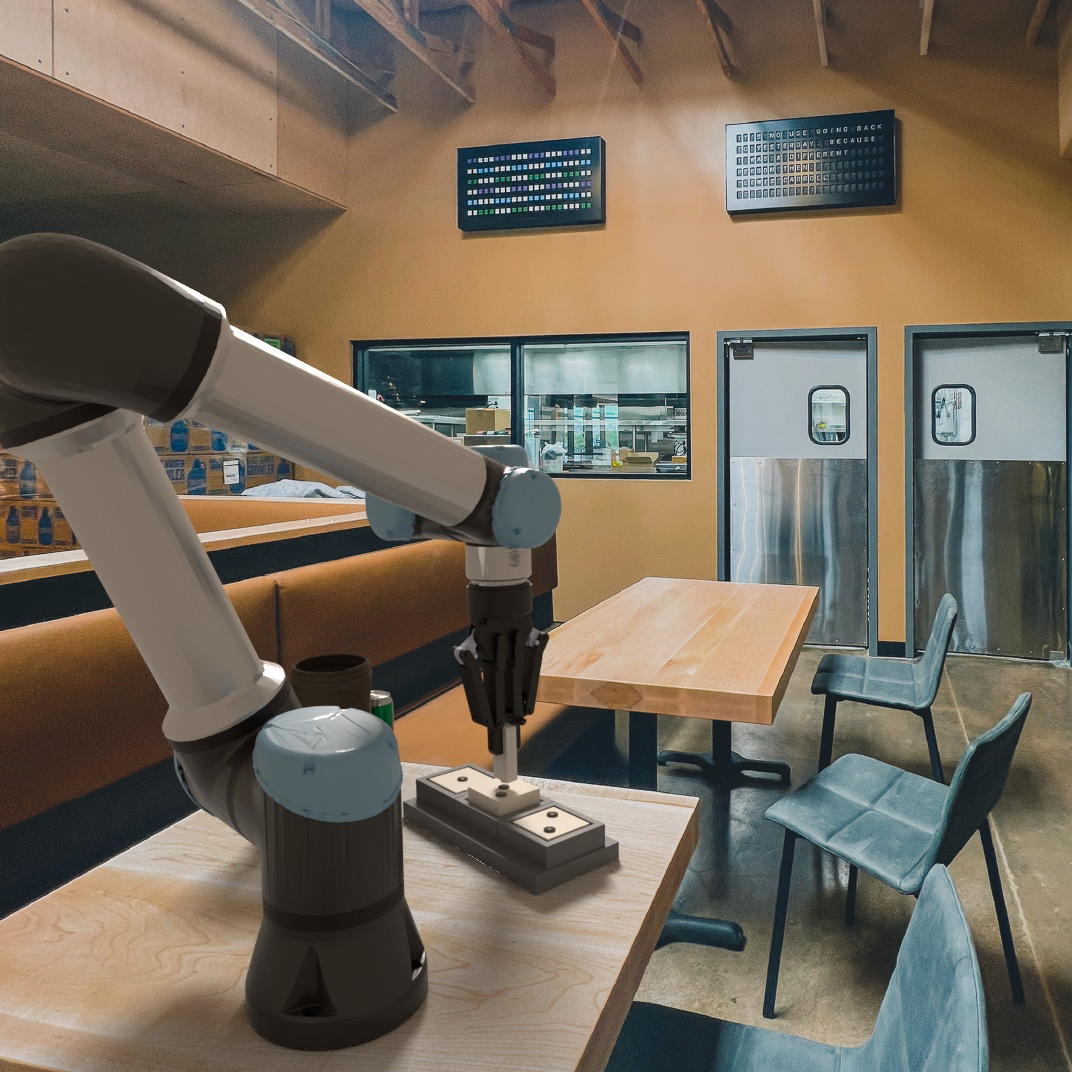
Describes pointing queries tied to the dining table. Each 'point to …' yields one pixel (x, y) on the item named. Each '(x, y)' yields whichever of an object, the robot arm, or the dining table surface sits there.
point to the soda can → (382, 707)
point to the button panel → (510, 836)
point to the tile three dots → (503, 796)
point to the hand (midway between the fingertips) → (505, 778)
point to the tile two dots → (550, 824)
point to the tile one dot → (459, 780)
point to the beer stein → (333, 681)
